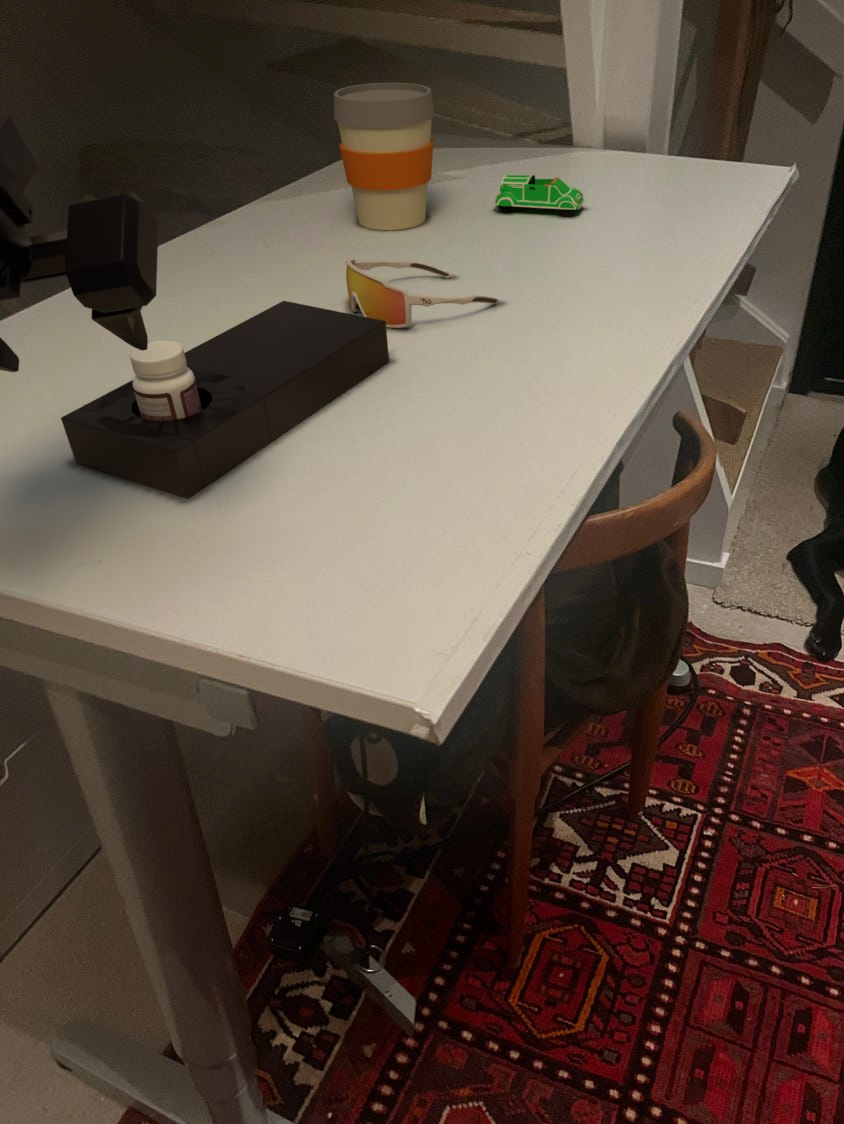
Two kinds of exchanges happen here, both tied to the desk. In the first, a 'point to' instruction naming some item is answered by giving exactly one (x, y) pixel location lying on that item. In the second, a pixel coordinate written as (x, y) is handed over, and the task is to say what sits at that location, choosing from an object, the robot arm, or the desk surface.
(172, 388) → the pill bottle
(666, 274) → the desk surface
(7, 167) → the robot arm
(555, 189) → the toy car
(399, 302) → the sunglasses
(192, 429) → the base
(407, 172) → the reusable coffee cup
